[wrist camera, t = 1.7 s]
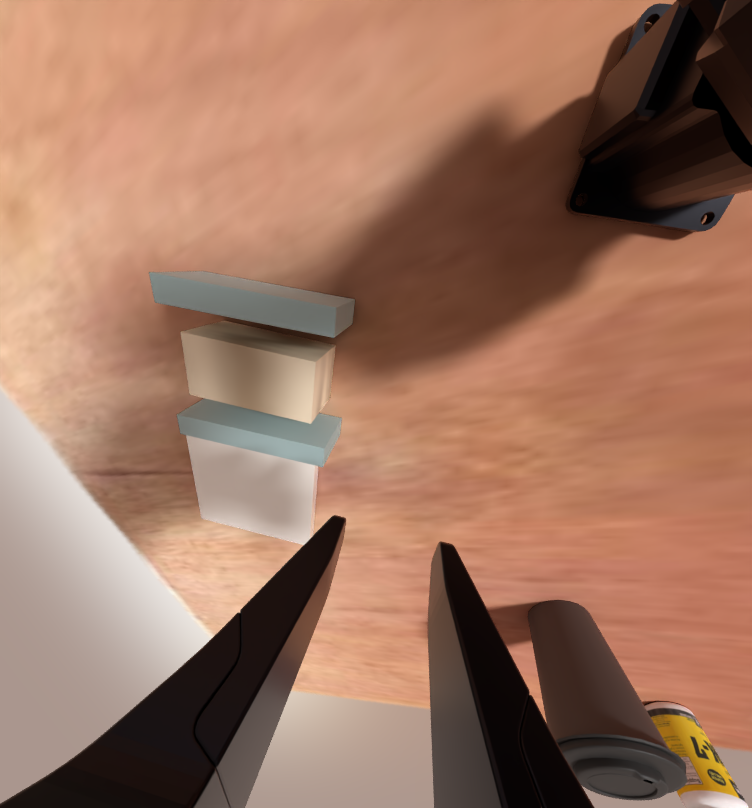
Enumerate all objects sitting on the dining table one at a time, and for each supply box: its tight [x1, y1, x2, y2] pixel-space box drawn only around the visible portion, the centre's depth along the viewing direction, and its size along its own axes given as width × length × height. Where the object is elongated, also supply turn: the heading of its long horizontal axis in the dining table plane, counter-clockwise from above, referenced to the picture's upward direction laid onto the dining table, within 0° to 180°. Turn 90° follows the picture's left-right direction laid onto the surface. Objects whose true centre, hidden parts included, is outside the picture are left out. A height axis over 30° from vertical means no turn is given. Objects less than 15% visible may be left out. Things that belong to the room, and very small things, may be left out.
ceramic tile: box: [186, 435, 319, 545], centre depth 25 cm, size 11×11×1 cm
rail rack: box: [149, 271, 355, 467], centre depth 18 cm, size 10×10×4 cm
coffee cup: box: [528, 600, 687, 800], centre depth 22 cm, size 8×8×10 cm
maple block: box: [180, 321, 336, 424], centre depth 18 cm, size 8×4×4 cm, turn 80°
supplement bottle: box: [644, 702, 749, 808], centre depth 27 cm, size 5×5×8 cm
